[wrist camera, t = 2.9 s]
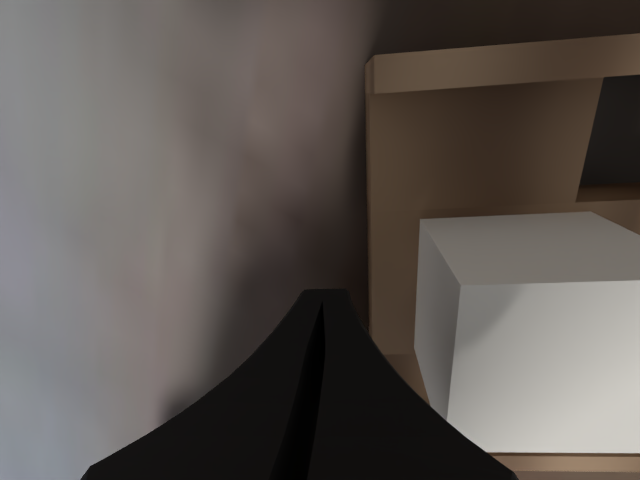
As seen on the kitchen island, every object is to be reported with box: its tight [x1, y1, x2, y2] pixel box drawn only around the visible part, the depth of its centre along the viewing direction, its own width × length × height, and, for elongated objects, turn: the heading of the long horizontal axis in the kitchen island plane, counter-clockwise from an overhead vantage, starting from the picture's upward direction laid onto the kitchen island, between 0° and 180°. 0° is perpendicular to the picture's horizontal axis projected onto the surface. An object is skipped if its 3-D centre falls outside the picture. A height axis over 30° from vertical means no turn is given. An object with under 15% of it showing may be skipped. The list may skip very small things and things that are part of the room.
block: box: [414, 211, 640, 453], centre depth 10 cm, size 5×5×4 cm
